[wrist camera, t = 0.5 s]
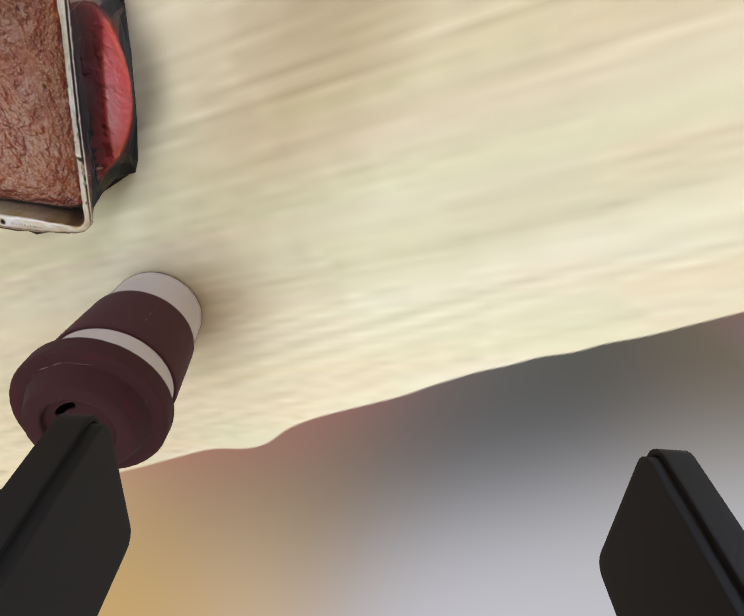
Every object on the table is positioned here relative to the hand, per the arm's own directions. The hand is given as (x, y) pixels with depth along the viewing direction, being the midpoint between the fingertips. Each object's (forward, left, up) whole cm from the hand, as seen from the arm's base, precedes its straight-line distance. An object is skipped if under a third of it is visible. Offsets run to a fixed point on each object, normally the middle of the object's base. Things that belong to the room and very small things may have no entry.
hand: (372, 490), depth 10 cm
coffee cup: (+18, -17, -34) cm, 42 cm away
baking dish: (0, -23, -34) cm, 41 cm away
